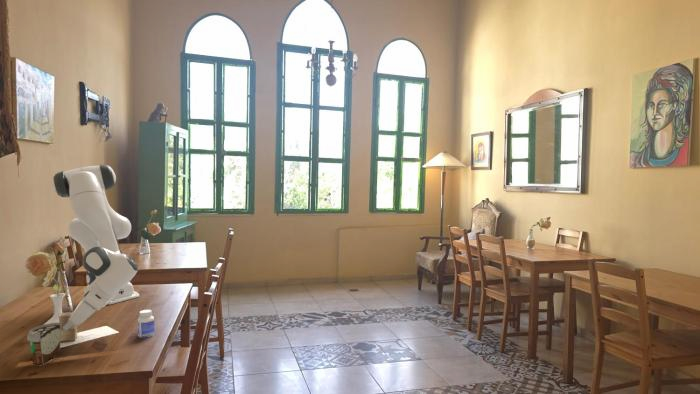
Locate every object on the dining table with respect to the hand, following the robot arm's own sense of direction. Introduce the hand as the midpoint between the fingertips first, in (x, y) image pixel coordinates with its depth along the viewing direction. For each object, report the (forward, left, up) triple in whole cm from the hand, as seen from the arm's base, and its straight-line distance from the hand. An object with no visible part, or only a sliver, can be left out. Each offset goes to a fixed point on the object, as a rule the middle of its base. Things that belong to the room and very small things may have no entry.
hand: (66, 326), depth 154 cm
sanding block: (0, 0, -5) cm, 5 cm away
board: (-5, 0, -6) cm, 8 cm away
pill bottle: (-20, +16, -6) cm, 26 cm away
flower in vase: (-2, -15, -6) cm, 16 cm away
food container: (+10, +9, -6) cm, 15 cm away
